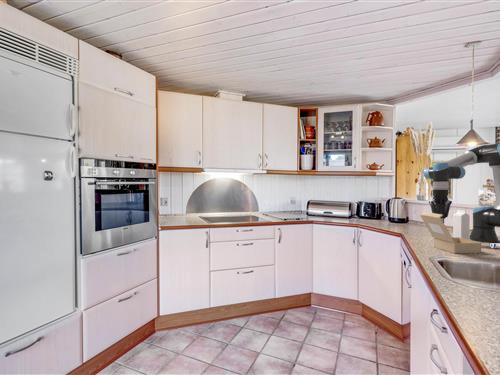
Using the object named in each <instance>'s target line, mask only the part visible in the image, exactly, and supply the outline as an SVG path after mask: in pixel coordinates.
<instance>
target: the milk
mask: <svg viewBox="0 0 500 375" xmlns="http://www.w3.org/2000/svg"><path fill="white" fill-rule="evenodd" d="M452 218H453V222H452V223H453V224H452V225H453V227H452V229H453V230H452V231H453V232H452V237H459V238H463V239H467V240H470V219H471V218H470V215H469V214H468V213H466V210H463V209H457V210H456V212H455V213H453V216H452Z"/></svg>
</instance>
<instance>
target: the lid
mask: <svg viewBox="0 0 500 375" xmlns="http://www.w3.org/2000/svg"><path fill="white" fill-rule="evenodd" d="M419 216H420V218H421V220H422V222H423V223H424V225H425V227H426V228H427V229H428V231H429V233H430V235H431V237H432V238H433V239H434V238H438V239H441V240H445V241H449V242H453V243H456V242H454V240H453V238H452V237H453V236H452V234H450V232H449V230H448V229H447V227H446V225H445V222H444V223H443V221H442V220H441V218H440V217H442V216H443V215H442V214H435V213H432V212H428V211H424V212H423V213H421V214H419Z"/></svg>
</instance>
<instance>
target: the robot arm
mask: <svg viewBox="0 0 500 375" xmlns="http://www.w3.org/2000/svg"><path fill="white" fill-rule="evenodd" d="M486 163H488V167H489V168H491V169H492V175H493V186H494V196H495V204H496V205H495V206H477V207H476V206H475V207H473V209H472V229H471V232H470V234H469V240H471V241H475V242H480V243H498V242H499V238H498V235H497V233H496V228H500V143H493V144H492V143H491V144H484V145H479V146H476V147H473V148H471V149H469V150H466V151H465V152H463V153H462V154H461V155H459V156H456V157H454V158H452V159H450V160H447V161H444V162H434V163H433V164H432V165H433V166H432V167H431V166H429V167H426V168H425V169H424V170H423V177H424V178H425V179H426V180H432V195H433V198H432V200H429V201H428V204H429V205H430V209H431V210H430V211H431V213H435V214H442V215H443V216H442V217H440V218H441V220H442V221H443V223H444V224H445V219H446V218H448V217H449V213H450V208H451V206H452V203H453V200H450V199H449V197H448V196H449V180H459V179H460V180H461V179H463V178H464V177H465V176H466V169H465V167H468V166H473V165H476V164H486ZM495 227H496V228H495Z"/></svg>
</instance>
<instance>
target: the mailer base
mask: <svg viewBox="0 0 500 375" xmlns="http://www.w3.org/2000/svg"><path fill="white" fill-rule="evenodd" d="M451 237H452V238H453V240H454V242H456V243H453V242H449V241H445V240H441V239H438V238H434V237H433V248H436V249H438V250H441V251H444V252H447V253H449V254H450V253H451V254H453V255H457V254H459V255H460V254H462V255H463V254H482V242H480V241H474V240H470V239H469V240H467V239H463V238H459V237H453V236H451Z"/></svg>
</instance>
